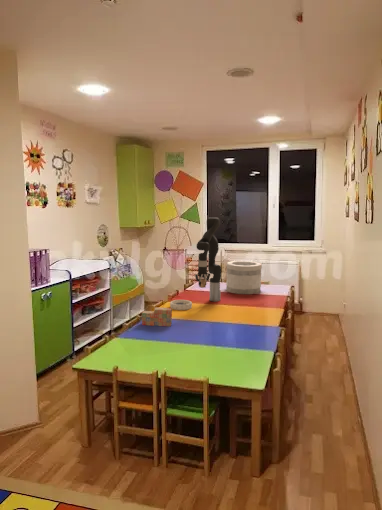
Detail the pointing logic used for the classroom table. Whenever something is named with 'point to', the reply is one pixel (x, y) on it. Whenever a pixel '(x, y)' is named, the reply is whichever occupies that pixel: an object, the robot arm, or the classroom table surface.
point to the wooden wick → (203, 283)
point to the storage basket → (243, 277)
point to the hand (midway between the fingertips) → (202, 285)
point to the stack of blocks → (157, 317)
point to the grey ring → (181, 304)
